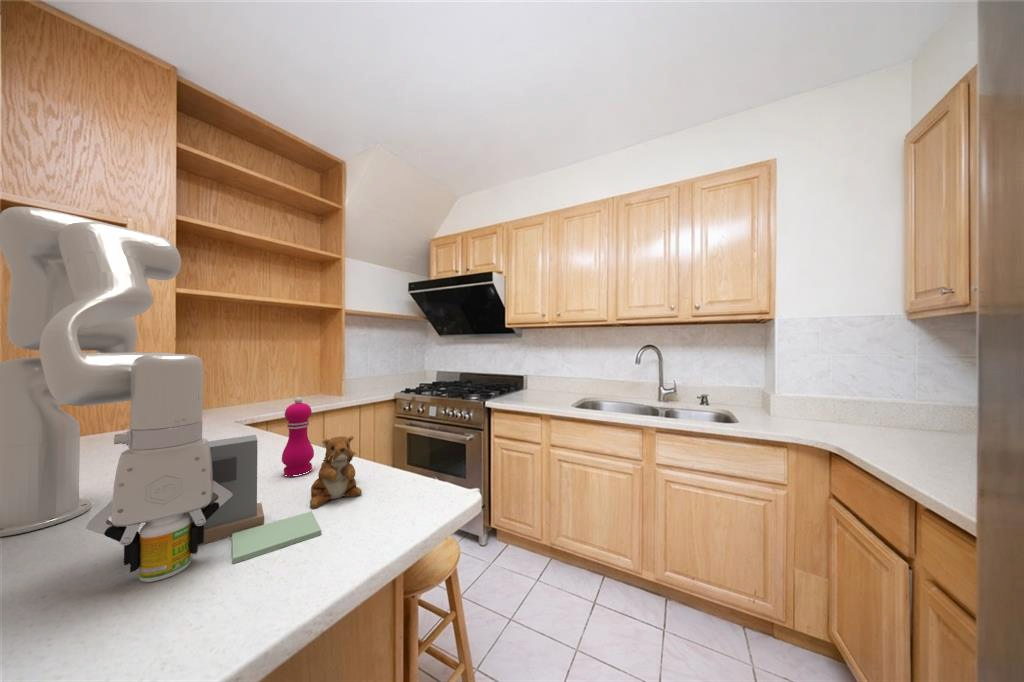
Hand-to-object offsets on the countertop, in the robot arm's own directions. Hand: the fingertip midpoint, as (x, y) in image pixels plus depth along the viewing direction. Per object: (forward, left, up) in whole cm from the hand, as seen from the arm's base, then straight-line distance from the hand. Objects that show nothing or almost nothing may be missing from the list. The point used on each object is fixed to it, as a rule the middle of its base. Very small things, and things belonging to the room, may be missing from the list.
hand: (166, 556), depth 49 cm
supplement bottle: (0, 0, -2) cm, 2 cm away
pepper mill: (+21, +32, -2) cm, 39 cm away
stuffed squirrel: (+26, +13, -2) cm, 29 cm away
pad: (+14, 0, -2) cm, 14 cm away
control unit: (+4, +9, -2) cm, 10 cm away
